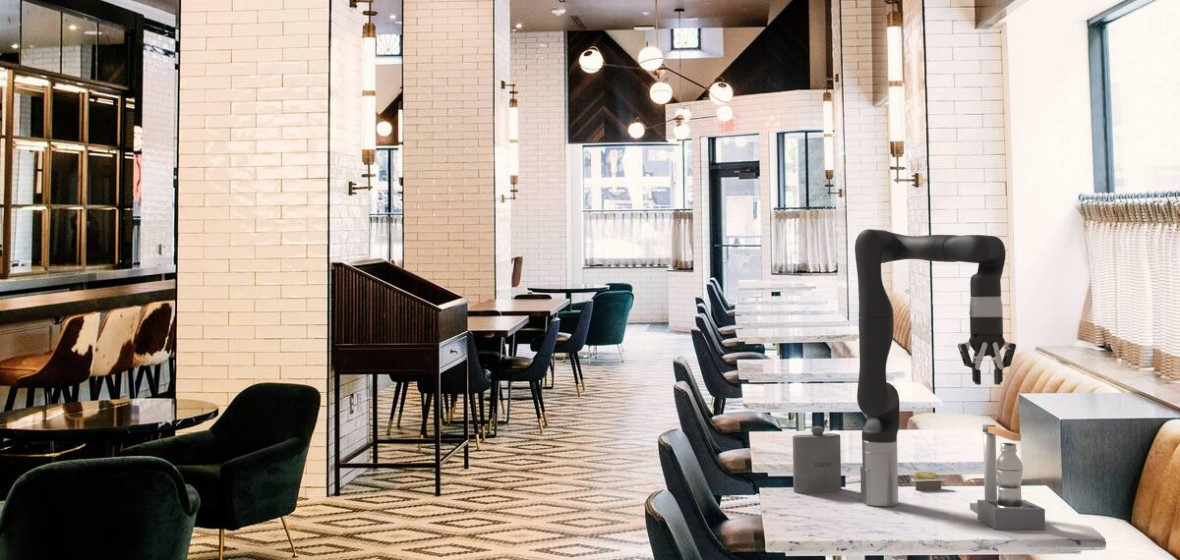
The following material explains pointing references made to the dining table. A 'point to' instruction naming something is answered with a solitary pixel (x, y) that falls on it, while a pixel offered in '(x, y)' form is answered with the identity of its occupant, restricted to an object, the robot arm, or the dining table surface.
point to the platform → (927, 481)
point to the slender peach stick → (1001, 432)
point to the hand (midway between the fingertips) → (987, 384)
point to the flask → (816, 462)
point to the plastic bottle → (1009, 477)
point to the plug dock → (987, 509)
